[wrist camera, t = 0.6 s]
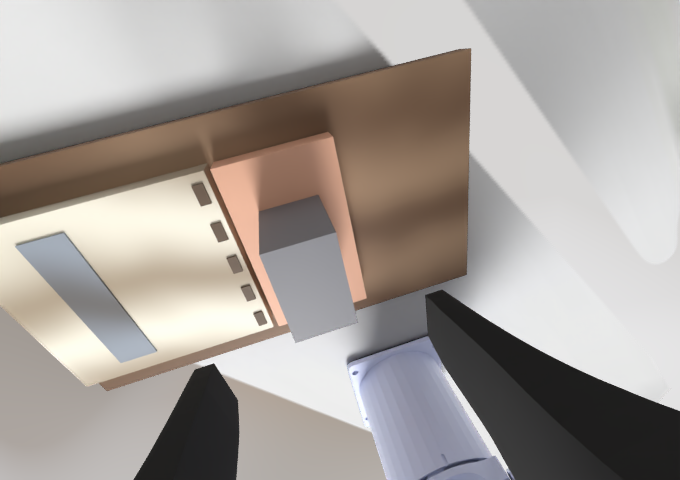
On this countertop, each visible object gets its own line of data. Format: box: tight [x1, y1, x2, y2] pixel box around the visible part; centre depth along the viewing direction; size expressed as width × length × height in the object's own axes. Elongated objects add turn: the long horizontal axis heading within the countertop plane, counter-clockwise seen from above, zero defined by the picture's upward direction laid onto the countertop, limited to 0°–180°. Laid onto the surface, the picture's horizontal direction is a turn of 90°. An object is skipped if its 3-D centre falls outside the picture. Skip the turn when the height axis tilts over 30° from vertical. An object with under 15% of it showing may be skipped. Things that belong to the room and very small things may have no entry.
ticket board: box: [0, 49, 471, 391], centre depth 17 cm, size 14×25×2 cm, turn 102°
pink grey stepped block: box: [210, 132, 367, 343], centre depth 15 cm, size 10×6×5 cm, turn 12°
